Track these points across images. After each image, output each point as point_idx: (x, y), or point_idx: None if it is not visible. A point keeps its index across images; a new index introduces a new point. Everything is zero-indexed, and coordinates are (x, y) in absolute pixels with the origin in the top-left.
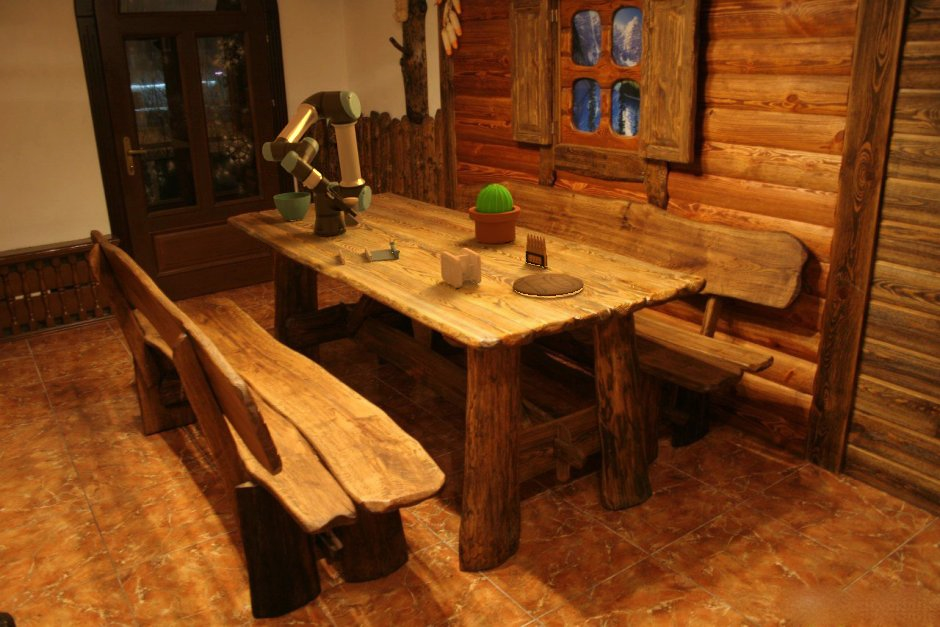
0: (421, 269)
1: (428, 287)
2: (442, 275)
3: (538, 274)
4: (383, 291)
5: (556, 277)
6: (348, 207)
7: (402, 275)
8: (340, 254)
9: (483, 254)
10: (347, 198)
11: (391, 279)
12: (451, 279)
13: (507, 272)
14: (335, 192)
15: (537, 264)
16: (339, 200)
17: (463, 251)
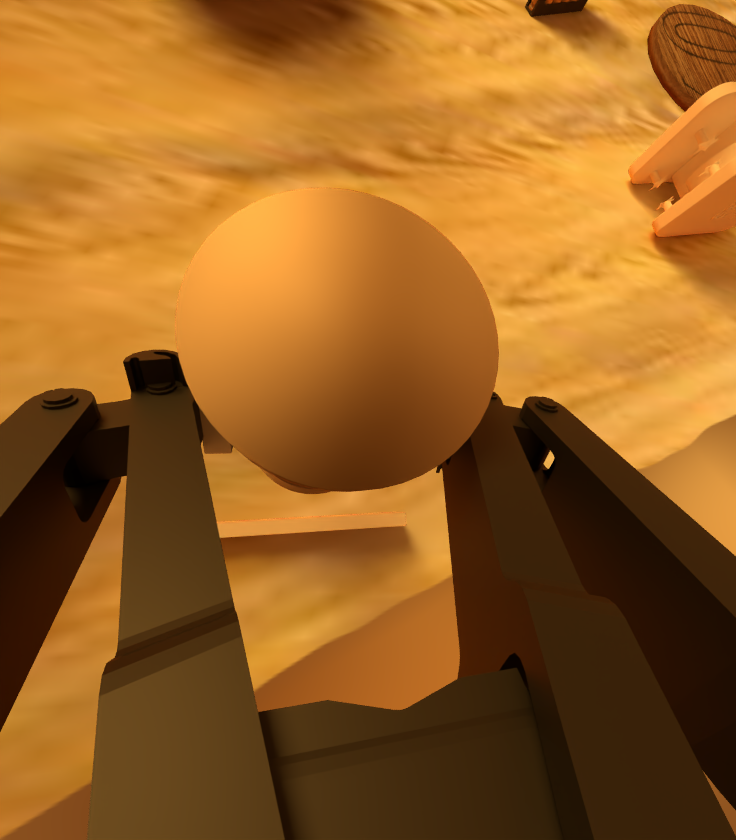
0: (533, 257)
1: (696, 288)
2: (672, 228)
3: (662, 46)
4: (722, 409)
5: (685, 31)
6: (572, 421)
7: (585, 326)
8: (322, 530)
9: (413, 50)
10: (252, 365)
11: (620, 366)
12: (724, 221)
13: (600, 85)
14: (279, 799)
15: (569, 5)
16: (718, 563)
17: (730, 104)
